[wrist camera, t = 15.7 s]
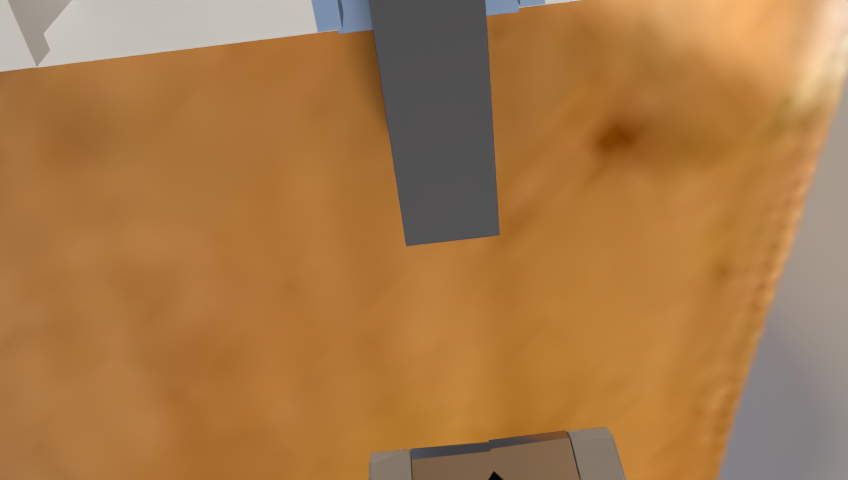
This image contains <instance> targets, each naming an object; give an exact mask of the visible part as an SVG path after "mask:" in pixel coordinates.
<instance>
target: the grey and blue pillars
mask: <svg viewBox="0 0 848 480" xmlns="http://www.w3.org/2000/svg"><path fill="white" fill-rule="evenodd" d="M570 1H578V0H485V4H486V16H488V15H496V14H504V13H512V12H519V8H521V7H529V6H538V5H546V4H554V3H562V2H570ZM336 30H338V32H339V34H342V33H350V32H358V31H367V30H373V26H372V19H371V13H370V6H369V0H0V72H1V71H9V70H17V69H25V68H33V67H36V68H37V67H45V66H53V65H61V64H69V63H77V62H85V61H94V60H102V59H110V58H118V57H126V56H134V55H142V54H150V53H158V52H166V51H174V50H182V49H190V48H198V47H207V46H215V45H223V44H231V43H239V42H247V41H255V40H263V39H271V38H279V37H287V36H295V35H303V34H312V33H320V32H328V31H336Z"/></svg>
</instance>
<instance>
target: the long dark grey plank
mask: <svg viewBox="0 0 848 480" xmlns="http://www.w3.org/2000/svg"><path fill="white" fill-rule="evenodd" d="M369 6H370V13H371V19H372V26H373V32H374V39H375V45H376V52H377V58H378V65H379V71H380V78H381V85H382V91H383V98H384V104H385V111H386V117H387V124H388V130H389V137H390V143H391V150H392V156H393V163H394V170H395V176H396V183H397V189H398V196H399V202H400V209H401V215H402V222H403V228H404V235H405V241H406V246H411V245H420V244H429V243H437V242H446V241H455V240H463V239H472V238H480V237H489V236H498V235H500V234H499V217H498V201H497V185H496V168H495V152H494V135H493V119H492V102H491V86H490V69H489V53H488V37H487V20H486V4H485V0H369Z"/></svg>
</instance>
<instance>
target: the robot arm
mask: <svg viewBox="0 0 848 480" xmlns="http://www.w3.org/2000/svg"><path fill="white" fill-rule="evenodd" d="M369 480H626V478H625V474H624V471H623V468H622V464H621V461H620V458H619V454H618V451H617V448H616V445H615V441H614V438H613V435H612V433H611V432H610V431H609V429H608V428H607V427H598V428H591V429H583V430H575V431H568V432H566V431H565V430H564V431H557V432H549V433H541V434H533V435H526V436H518V437H510V438H502V439H494V440H489V442H479V443H469V444H458V445H447V446H437V447H426V448H415V449H403V450H394V451H385V452H376V453H371V458H370V463H369Z"/></svg>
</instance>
